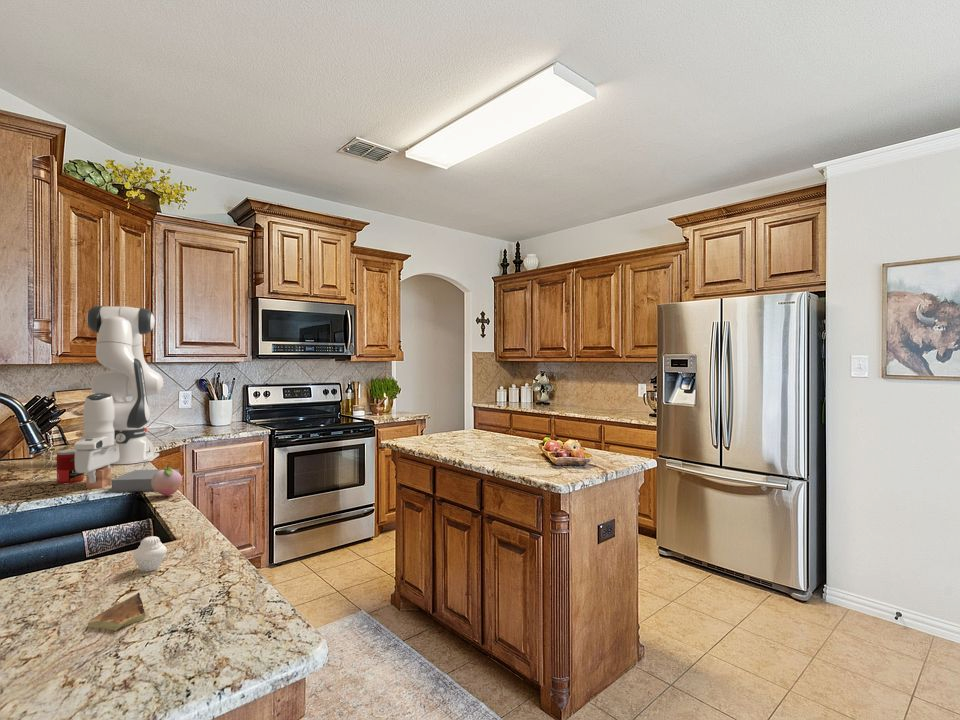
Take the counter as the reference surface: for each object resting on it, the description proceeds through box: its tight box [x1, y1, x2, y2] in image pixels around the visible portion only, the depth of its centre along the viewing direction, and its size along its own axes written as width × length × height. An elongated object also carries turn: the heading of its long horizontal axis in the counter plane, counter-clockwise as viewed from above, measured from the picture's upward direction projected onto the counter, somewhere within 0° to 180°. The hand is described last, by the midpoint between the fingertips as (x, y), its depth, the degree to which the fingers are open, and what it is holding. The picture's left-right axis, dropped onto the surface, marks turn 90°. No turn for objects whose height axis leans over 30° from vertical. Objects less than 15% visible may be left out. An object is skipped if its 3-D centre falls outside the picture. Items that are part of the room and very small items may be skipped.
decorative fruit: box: [151, 465, 183, 498], centre depth 166 cm, size 9×8×10 cm
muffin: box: [132, 535, 168, 573], centre depth 110 cm, size 6×6×7 cm
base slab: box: [111, 468, 180, 493], centre depth 180 cm, size 15×15×4 cm
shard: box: [87, 592, 147, 631], centre depth 91 cm, size 11×8×2 cm
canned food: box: [56, 448, 85, 484], centre depth 185 cm, size 8×8×11 cm
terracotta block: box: [85, 467, 112, 489], centre depth 178 cm, size 5×5×6 cm
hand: (98, 480), depth 178 cm, fingers closed on terracotta block, 5 cm apart
